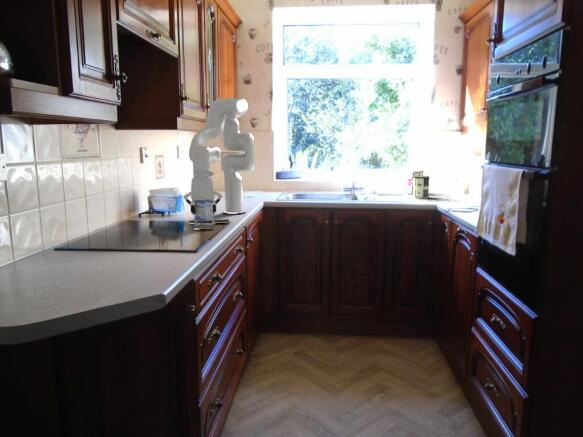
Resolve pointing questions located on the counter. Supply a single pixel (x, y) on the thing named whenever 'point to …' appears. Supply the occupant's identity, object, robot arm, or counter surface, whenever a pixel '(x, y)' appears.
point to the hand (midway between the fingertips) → (203, 213)
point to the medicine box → (203, 210)
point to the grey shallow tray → (204, 225)
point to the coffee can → (420, 186)
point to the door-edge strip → (215, 220)
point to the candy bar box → (410, 179)
